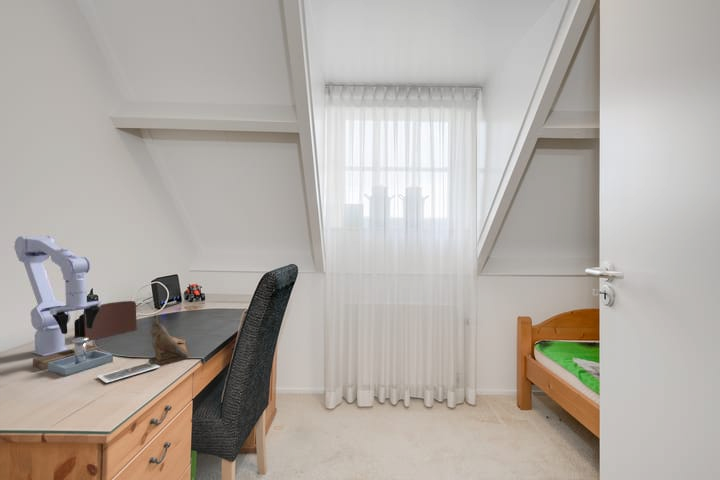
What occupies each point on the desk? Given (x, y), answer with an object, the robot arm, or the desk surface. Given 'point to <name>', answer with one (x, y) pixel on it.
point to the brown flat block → (58, 357)
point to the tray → (69, 367)
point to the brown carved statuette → (165, 346)
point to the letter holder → (108, 321)
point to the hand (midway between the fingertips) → (77, 330)
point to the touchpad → (127, 372)
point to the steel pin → (80, 349)
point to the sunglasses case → (180, 343)
